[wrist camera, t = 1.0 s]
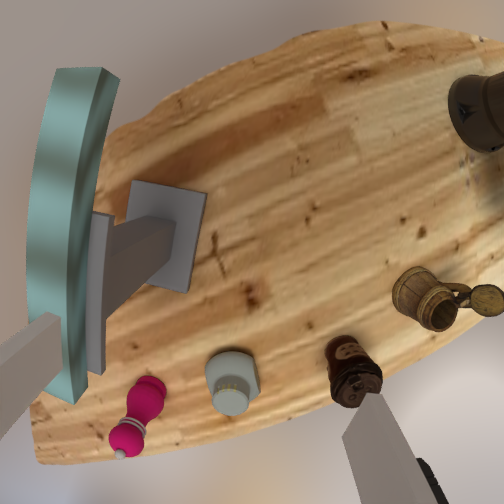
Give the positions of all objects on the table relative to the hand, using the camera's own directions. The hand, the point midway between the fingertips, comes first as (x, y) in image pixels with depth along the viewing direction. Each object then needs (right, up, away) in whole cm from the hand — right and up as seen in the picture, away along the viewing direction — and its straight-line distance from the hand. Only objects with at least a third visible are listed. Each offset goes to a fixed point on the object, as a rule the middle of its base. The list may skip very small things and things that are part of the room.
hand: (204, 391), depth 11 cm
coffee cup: (+18, -12, +42) cm, 47 cm away
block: (-12, +6, +10) cm, 17 cm away
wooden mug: (+33, 0, +39) cm, 51 cm away
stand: (-13, +8, +38) cm, 41 cm away
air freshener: (-1, -16, +43) cm, 46 cm away
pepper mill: (-18, -22, +45) cm, 53 cm away
